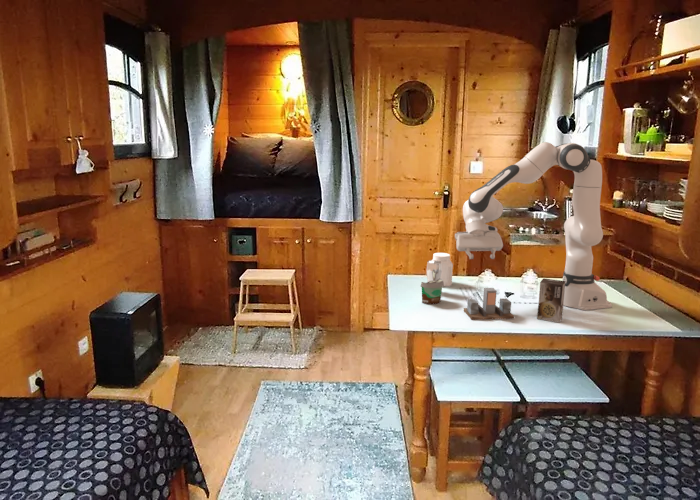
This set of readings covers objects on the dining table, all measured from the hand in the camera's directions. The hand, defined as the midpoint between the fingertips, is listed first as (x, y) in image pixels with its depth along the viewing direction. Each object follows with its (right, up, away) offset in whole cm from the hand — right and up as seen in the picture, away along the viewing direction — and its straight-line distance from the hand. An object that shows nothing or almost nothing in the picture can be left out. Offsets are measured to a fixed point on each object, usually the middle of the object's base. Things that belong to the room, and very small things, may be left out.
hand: (482, 258), depth 237 cm
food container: (-20, -20, +8) cm, 29 cm away
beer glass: (-18, -17, +23) cm, 33 cm away
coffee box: (+25, -25, -11) cm, 37 cm away
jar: (-12, -13, +37) cm, 41 cm away
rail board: (+1, -24, -7) cm, 25 cm away
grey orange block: (+1, -22, -7) cm, 24 cm away
